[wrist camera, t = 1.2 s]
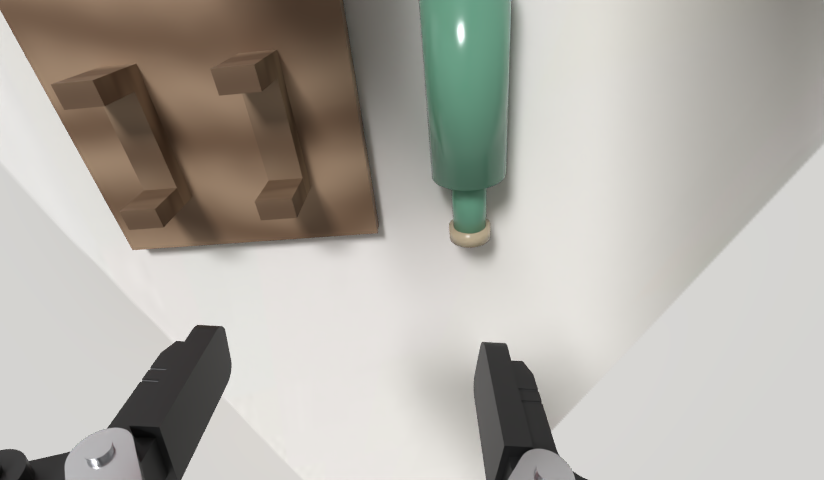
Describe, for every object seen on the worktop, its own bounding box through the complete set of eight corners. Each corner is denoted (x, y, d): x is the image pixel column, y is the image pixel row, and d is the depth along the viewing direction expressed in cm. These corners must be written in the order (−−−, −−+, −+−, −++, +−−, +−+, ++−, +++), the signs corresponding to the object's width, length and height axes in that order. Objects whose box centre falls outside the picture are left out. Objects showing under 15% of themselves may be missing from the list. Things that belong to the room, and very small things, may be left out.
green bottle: (416, -31, 25) (417, -28, 21) (503, -41, 25) (522, -39, 20) (434, 221, 34) (438, 258, 30) (497, 216, 34) (510, 252, 30)
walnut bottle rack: (9, -6, 26) (-80, 3, 21) (336, -43, 25) (316, -42, 20) (140, 241, 36) (99, 284, 31) (378, 225, 34) (372, 266, 30)
